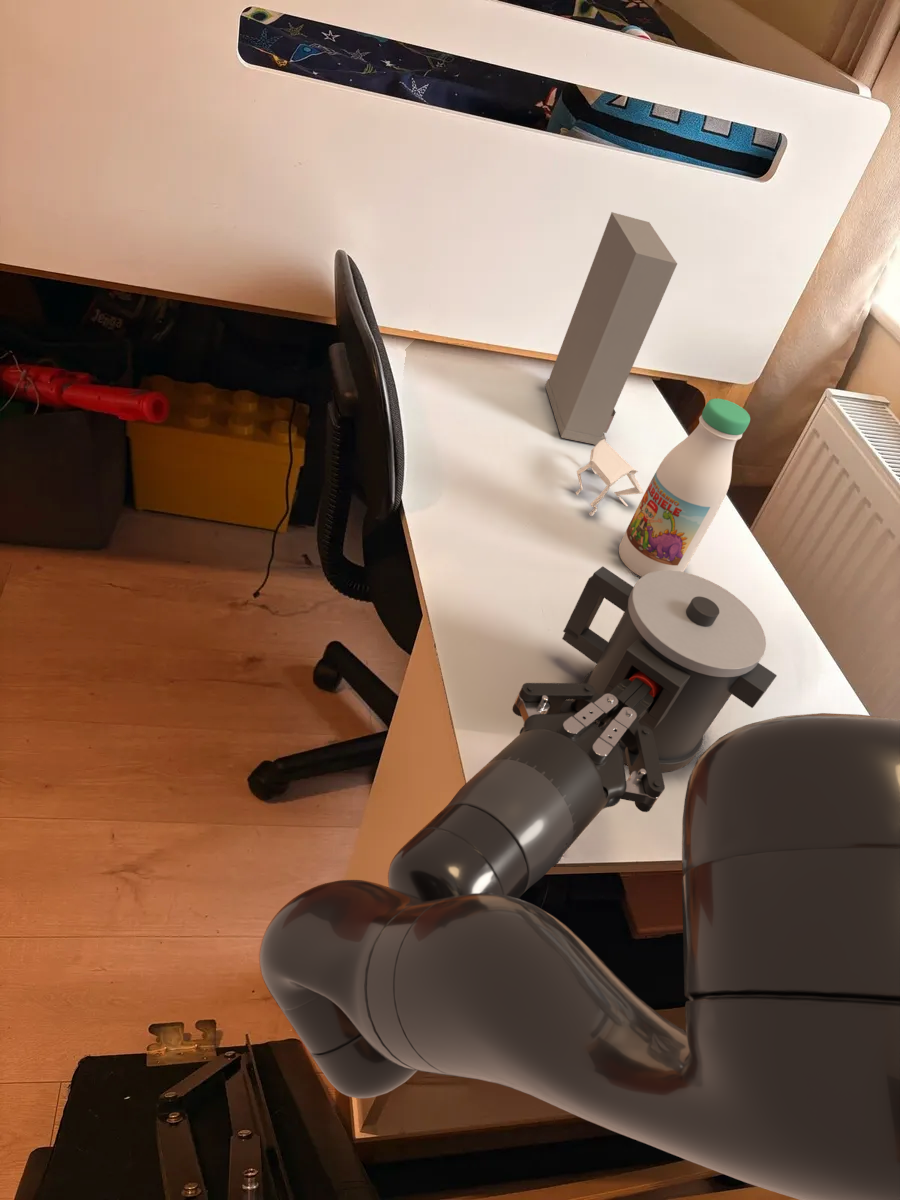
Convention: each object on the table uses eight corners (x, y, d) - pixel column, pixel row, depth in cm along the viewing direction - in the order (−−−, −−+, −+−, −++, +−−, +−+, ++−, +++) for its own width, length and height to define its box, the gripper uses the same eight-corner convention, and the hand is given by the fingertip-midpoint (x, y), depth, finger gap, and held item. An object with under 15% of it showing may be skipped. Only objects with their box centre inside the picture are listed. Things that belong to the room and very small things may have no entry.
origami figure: (644, 524, 107) (661, 490, 104) (582, 518, 105) (597, 484, 101) (610, 466, 116) (624, 434, 113) (551, 460, 113) (565, 426, 110)
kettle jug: (672, 817, 74) (754, 703, 65) (510, 693, 80) (565, 573, 71) (732, 738, 83) (811, 629, 74) (583, 632, 89) (640, 519, 80)
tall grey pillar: (603, 448, 119) (684, 266, 103) (560, 439, 117) (635, 253, 102) (584, 396, 129) (655, 223, 113) (544, 387, 128) (610, 211, 112)
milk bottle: (644, 534, 106) (721, 384, 93) (694, 574, 102) (781, 424, 89) (603, 549, 101) (678, 393, 88) (653, 592, 97) (739, 436, 85)
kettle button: (646, 709, 71) (658, 688, 70) (621, 691, 72) (633, 670, 70) (655, 699, 72) (667, 679, 71) (630, 682, 73) (642, 661, 72)
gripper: (626, 845, 54) (734, 709, 66) (459, 713, 58) (589, 608, 71) (582, 909, 59) (690, 771, 71) (430, 782, 63) (557, 673, 75)
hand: (639, 690), depth 71 cm, fingers closed
